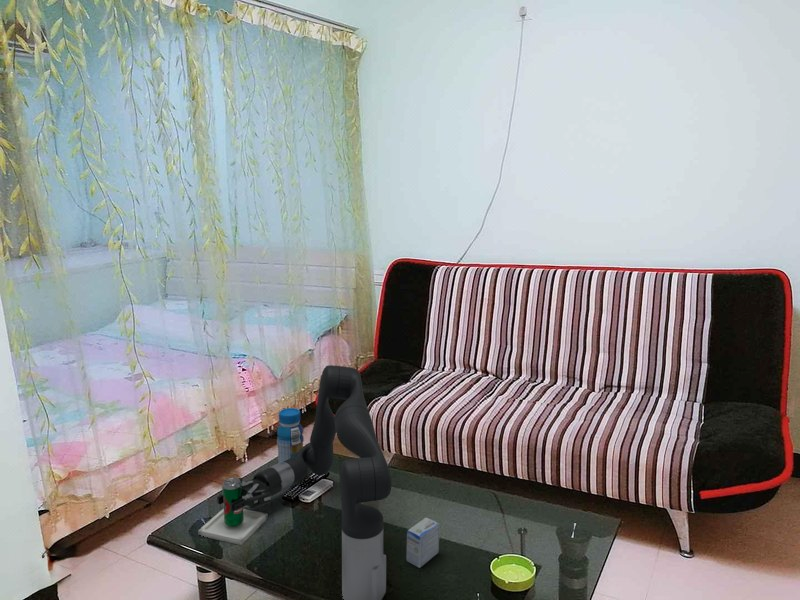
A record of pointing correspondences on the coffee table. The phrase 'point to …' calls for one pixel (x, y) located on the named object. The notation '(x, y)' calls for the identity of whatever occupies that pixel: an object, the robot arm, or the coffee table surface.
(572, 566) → the coffee table surface
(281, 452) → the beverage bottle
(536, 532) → the coffee table surface
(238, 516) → the soda can
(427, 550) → the medicine box
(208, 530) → the tray
